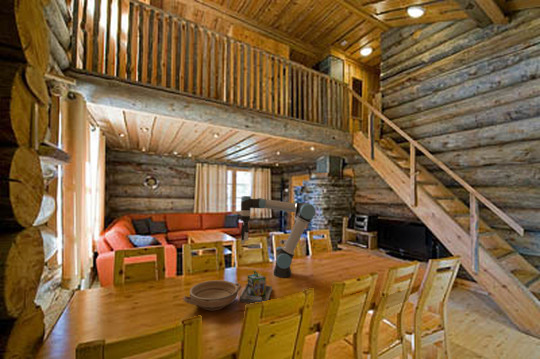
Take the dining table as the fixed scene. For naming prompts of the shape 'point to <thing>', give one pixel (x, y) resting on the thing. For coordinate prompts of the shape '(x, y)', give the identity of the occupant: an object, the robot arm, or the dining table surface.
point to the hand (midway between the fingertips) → (244, 242)
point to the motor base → (248, 298)
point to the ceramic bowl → (213, 294)
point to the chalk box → (256, 284)
